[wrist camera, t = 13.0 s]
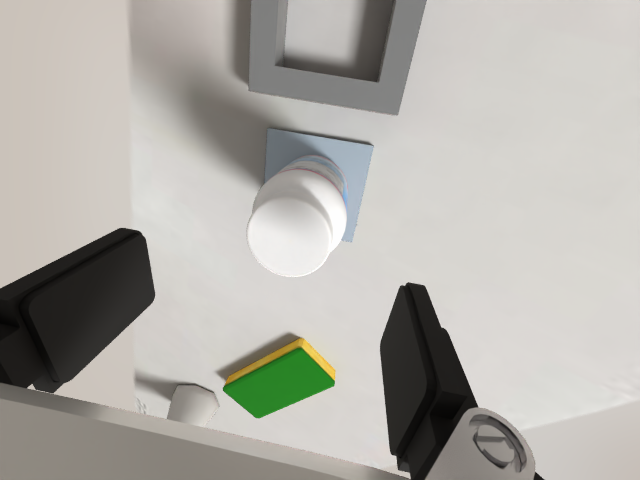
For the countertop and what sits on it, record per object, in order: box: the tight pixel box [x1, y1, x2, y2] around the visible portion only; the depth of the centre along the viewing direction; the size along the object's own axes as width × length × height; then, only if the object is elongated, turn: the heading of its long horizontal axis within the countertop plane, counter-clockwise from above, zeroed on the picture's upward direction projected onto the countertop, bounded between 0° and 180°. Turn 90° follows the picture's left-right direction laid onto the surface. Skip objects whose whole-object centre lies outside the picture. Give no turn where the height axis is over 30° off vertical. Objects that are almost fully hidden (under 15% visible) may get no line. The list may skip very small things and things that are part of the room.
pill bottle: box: [247, 155, 348, 277], centre depth 19 cm, size 6×6×11 cm
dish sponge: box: [223, 338, 335, 418], centre depth 35 cm, size 7×14×2 cm, turn 128°
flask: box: [167, 385, 220, 427], centre depth 36 cm, size 7×7×10 cm
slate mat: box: [264, 128, 374, 242], centre depth 24 cm, size 9×9×1 cm
